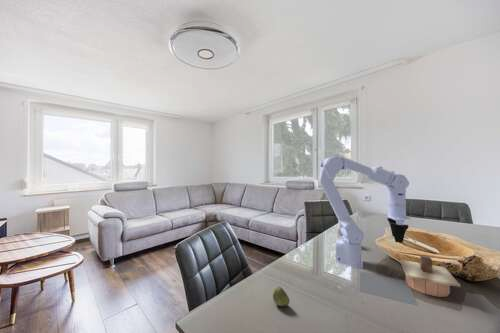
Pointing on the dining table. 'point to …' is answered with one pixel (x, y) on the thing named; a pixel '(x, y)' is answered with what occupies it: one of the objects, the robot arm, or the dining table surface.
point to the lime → (280, 297)
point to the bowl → (429, 287)
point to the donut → (339, 233)
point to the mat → (386, 287)
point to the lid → (428, 271)
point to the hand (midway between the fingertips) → (397, 239)
